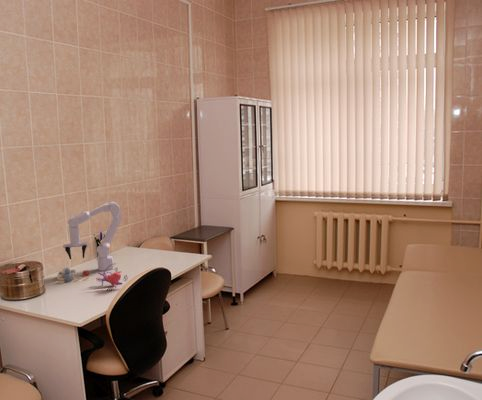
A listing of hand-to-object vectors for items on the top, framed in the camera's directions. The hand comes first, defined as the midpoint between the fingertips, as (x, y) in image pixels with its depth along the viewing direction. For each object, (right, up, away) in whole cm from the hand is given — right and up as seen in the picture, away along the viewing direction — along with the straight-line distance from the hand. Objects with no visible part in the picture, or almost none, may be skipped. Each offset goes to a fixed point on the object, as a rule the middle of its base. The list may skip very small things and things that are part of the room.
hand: (77, 258), depth 293 cm
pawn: (0, -12, -14) cm, 18 cm away
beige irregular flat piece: (+2, -12, -9) cm, 15 cm away
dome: (-4, -11, -6) cm, 14 cm away
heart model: (+28, -14, -27) cm, 41 cm away
